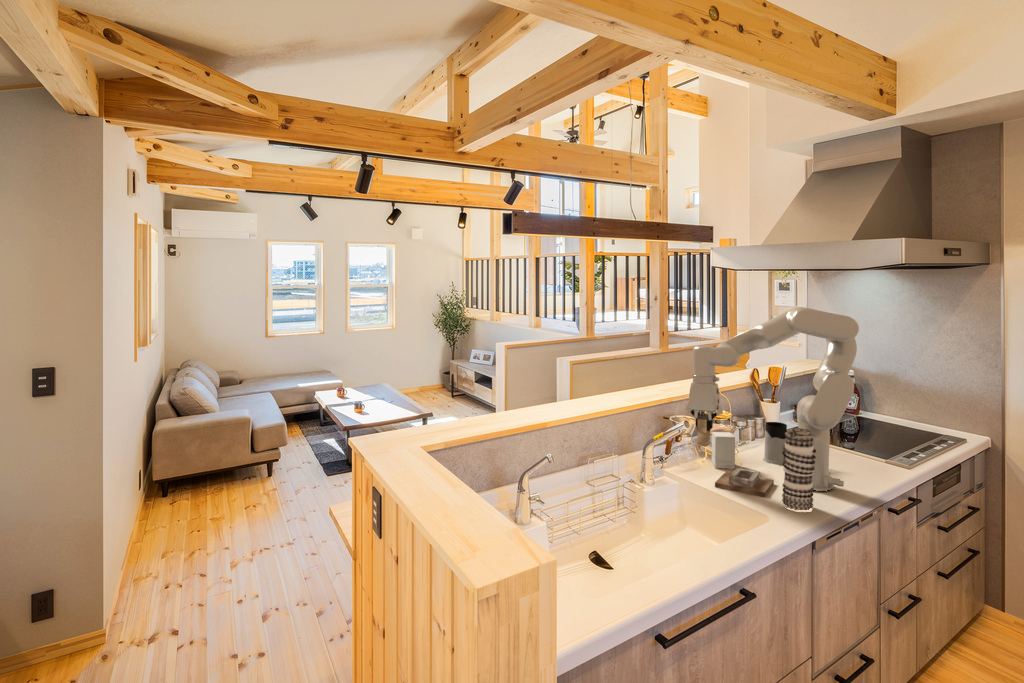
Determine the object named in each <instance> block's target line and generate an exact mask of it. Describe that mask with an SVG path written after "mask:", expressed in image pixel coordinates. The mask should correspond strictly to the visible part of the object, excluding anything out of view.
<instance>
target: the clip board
mask: <svg viewBox="0 0 1024 683" xmlns="http://www.w3.org/2000/svg"><path fill="white" fill-rule="evenodd" d="M760 473H761V472H760V471H757V470H751V469H745V468H740V467H737V468H736V469H735V470H734V471H727V470H726V471H725V472H724V473H722V475H721V476H720V477H719V478H718V479H717V480H716V481H715V482H714V487H715V488H718V489H719V488H720V489H722V490H723V489H724V490H727V491H728V490H729V491H734V492H739V493H744V494H748V495H754V496H758V497H763V498H765V497H766V496H767V494H768V493H769V491H770V490H771V488H772V487H773V486H774V484H775V480H774V479H771V478H764V477H761V474H760Z"/></svg>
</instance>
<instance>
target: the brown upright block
mask: <svg viewBox="0 0 1024 683" xmlns="http://www.w3.org/2000/svg"><path fill="white" fill-rule="evenodd" d="M707 420H708V413H704V412H700V415H698V430H697V446H699V447H708V446H709V445H710V444H711V430H710V431H707Z"/></svg>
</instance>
